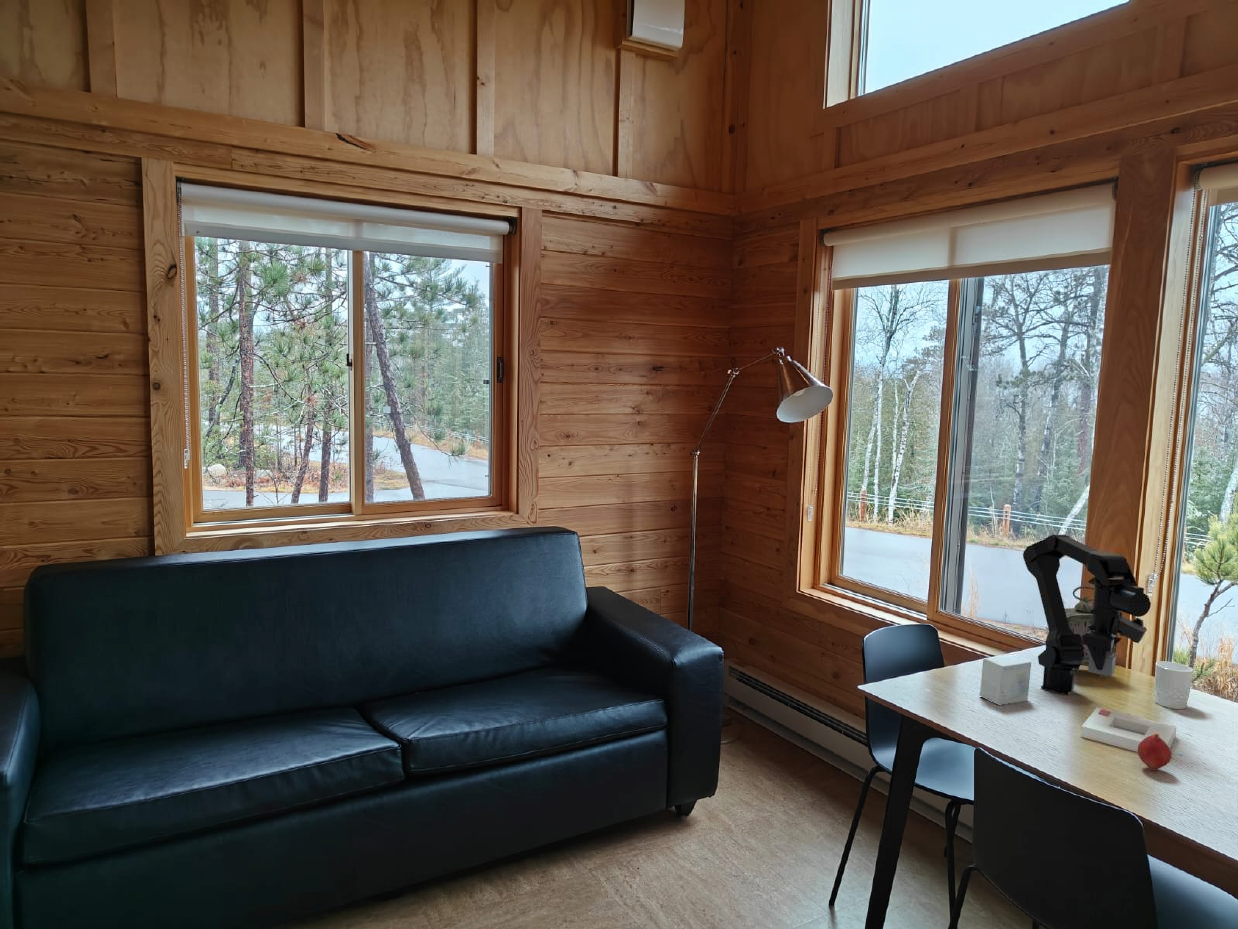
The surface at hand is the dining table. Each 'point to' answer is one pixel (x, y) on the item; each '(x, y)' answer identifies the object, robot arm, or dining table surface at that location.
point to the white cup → (1172, 684)
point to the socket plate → (1124, 729)
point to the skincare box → (1005, 679)
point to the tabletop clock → (1082, 621)
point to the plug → (1108, 665)
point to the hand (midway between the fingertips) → (1101, 667)
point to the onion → (1154, 752)
